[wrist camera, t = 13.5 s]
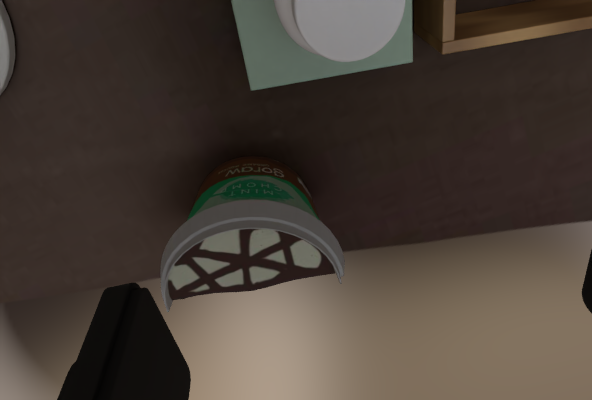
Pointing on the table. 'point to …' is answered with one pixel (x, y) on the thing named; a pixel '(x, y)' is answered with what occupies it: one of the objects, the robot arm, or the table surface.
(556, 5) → the wooden box
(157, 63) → the table surface
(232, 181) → the food container
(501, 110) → the table surface
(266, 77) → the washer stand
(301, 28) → the pill bottle
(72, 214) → the table surface
